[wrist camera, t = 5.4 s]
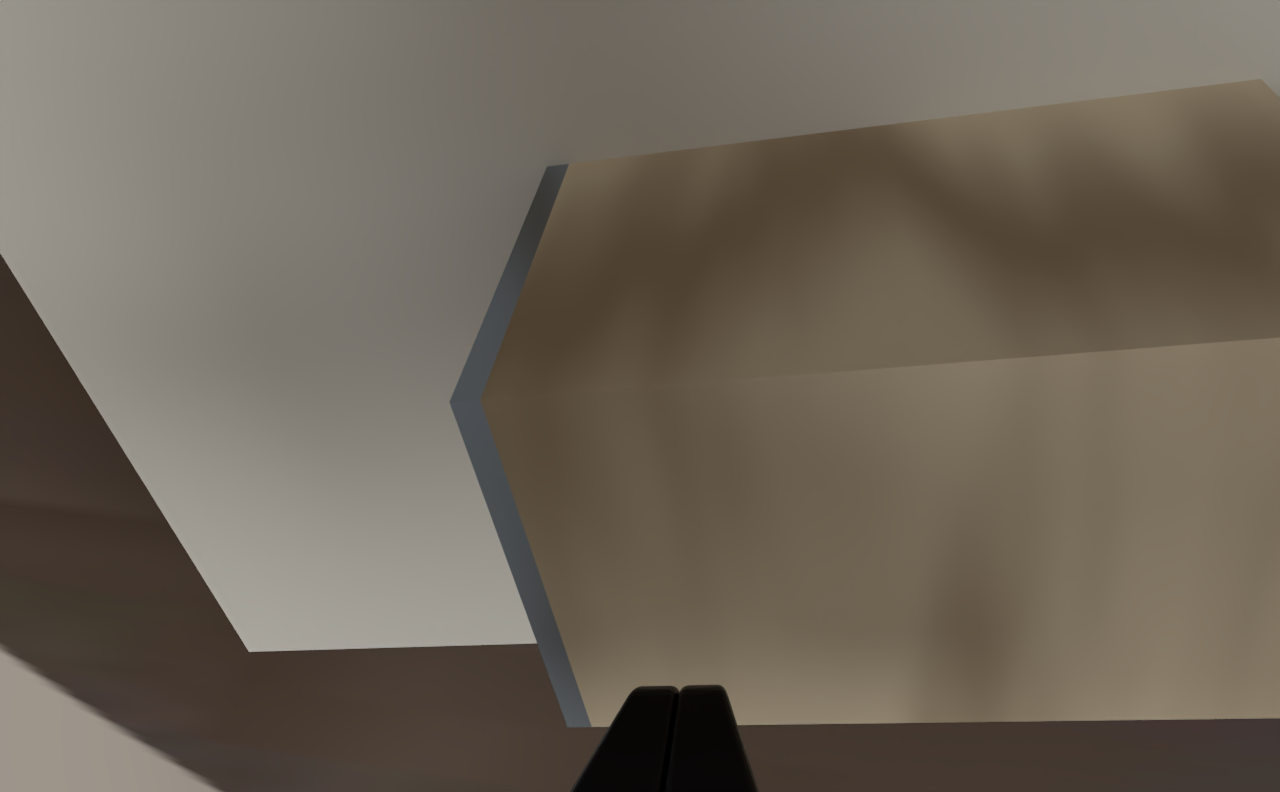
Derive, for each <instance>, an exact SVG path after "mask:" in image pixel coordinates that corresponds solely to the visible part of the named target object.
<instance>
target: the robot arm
mask: <svg viewBox="0 0 1280 792" xmlns="http://www.w3.org/2000/svg"><path fill="white" fill-rule="evenodd" d="M570 792H759V791H758V788H757V785H756V782H755V779H754V775H753V772H752V769H751V766H750V763H749V760H748V757H747V754H746V750H745V747H744V744H743V741H742V738H741V735H740V732H739V729H738V725H737V722H736V719H735V716H734V713H733V710H732V707H731V704H730V700H729V697H728V694H727V692H726V690H725V688H724V687H723V686H721V685H687V686H684V687H683V688H681V690H680V691H679V690H678V688H676V687H675V686H640V687H637V688H635V689H634V690H632V692H631V693H630V694H629V695H628V697H627V698H626V700H625V702H624V703H623V705H622V707H621V708H620V710H619V712H618V713H617V715H616V717H615V718H614V720H613V722H612V723H611V725H610V727H609V728H608V730H607V732H606V733H605V735H604V736H603V738H602V740H601V741H600V743H599V745H598V746H597V748H596V750H595V751H594V753H593V755H592V756H591V758H590V760H589V761H588V763H587V765H586V766H585V768H584V770H583V771H582V773H581V775H580V776H579V778H578V779H577V781H576V783H575V784H574V786H573V788H572V789H571V791H570Z"/></svg>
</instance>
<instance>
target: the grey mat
mask: <svg viewBox="0 0 1280 792" xmlns="http://www.w3.org/2000/svg"><path fill="white" fill-rule="evenodd" d="M1257 79H1261V80H1262V81H1263V82H1264V83H1265V84H1266V85H1267V86H1268V87H1269V88H1270V89H1271V90H1272V91H1273V92H1274V93H1275V94H1276V95H1277V96H1278V97H1279V98H1280V0H0V253H1V255H2V257H3V258H4V260H5V261H6V263H7V265H8V266H9V268H10V269H11V271H12V273H13V274H14V276H15V277H16V279H17V281H18V282H19V284H20V285H21V287H22V289H23V290H24V292H25V293H26V295H27V297H28V298H29V300H30V301H31V303H32V305H33V306H34V308H35V309H36V311H37V313H38V314H39V316H40V317H41V319H42V321H43V322H44V324H45V326H46V327H47V329H48V330H49V332H50V334H51V335H52V337H53V338H54V340H55V342H56V343H57V345H58V346H59V348H60V350H61V351H62V353H63V354H64V356H65V358H66V359H67V361H68V362H69V364H70V366H71V367H72V369H73V370H74V372H75V374H76V375H77V377H78V378H79V380H80V382H81V383H82V385H83V386H84V388H85V390H86V391H87V393H88V394H89V396H90V398H91V399H92V401H93V402H94V404H95V406H96V407H97V409H98V410H99V412H100V414H101V415H102V417H103V418H104V420H105V422H106V423H107V425H108V427H109V428H110V430H111V431H112V433H113V435H114V436H115V438H116V439H117V441H118V443H119V444H120V446H121V447H122V449H123V451H124V452H125V454H126V455H127V457H128V459H129V460H130V462H131V463H132V465H133V467H134V468H135V470H136V471H137V473H138V475H139V476H140V478H141V479H142V481H143V483H144V484H145V486H146V487H147V489H148V491H149V492H150V494H151V495H152V497H153V499H154V500H155V502H156V503H157V505H158V507H159V508H160V510H161V511H162V513H163V515H164V516H165V518H166V519H167V521H168V523H169V524H170V526H171V528H172V529H173V531H174V532H175V534H176V536H177V537H178V539H179V540H180V542H181V544H182V545H183V547H184V548H185V550H186V552H187V553H188V555H189V556H190V558H191V560H192V561H193V563H194V564H195V566H196V568H197V569H198V571H199V572H200V574H201V576H202V577H203V579H204V580H205V582H206V584H207V585H208V587H209V588H210V590H211V592H212V593H213V595H214V596H215V598H216V600H217V601H218V603H219V604H220V606H221V608H222V609H223V611H224V612H225V614H226V616H227V617H228V619H229V620H230V622H231V624H232V625H233V627H234V629H235V630H236V632H237V633H238V635H239V637H240V638H241V640H242V641H243V643H244V645H245V646H246V648H247V649H248V651H249V652H257V651H292V650H326V649H360V648H394V647H429V646H463V645H497V644H531V643H537V642H536V639H535V636H534V633H533V631H532V628H531V625H530V622H529V620H528V617H527V614H526V611H525V609H524V606H523V603H522V600H521V598H520V595H519V592H518V589H517V587H516V584H515V581H514V578H513V576H512V573H511V570H510V567H509V565H508V562H507V559H506V556H505V554H504V551H503V548H502V545H501V543H500V540H499V537H498V534H497V532H496V529H495V526H494V523H493V521H492V518H491V515H490V512H489V510H488V507H487V504H486V501H485V499H484V496H483V493H482V491H481V488H480V485H479V482H478V480H477V477H476V474H475V471H474V469H473V466H472V463H471V460H470V458H469V455H468V452H467V449H466V447H465V444H464V441H463V438H462V436H461V433H460V430H459V427H458V425H457V422H456V419H455V416H454V414H453V411H452V408H451V405H450V403H449V402H450V400H451V397H452V395H453V392H454V390H455V388H456V385H457V383H458V380H459V378H460V375H461V373H462V371H463V368H464V366H465V363H466V361H467V359H468V356H469V354H470V351H471V349H472V346H473V344H474V342H475V339H476V337H477V334H478V332H479V330H480V327H481V325H482V322H483V320H484V317H485V315H486V313H487V310H488V308H489V305H490V303H491V301H492V298H493V296H494V293H495V291H496V288H497V286H498V284H499V281H500V279H501V276H502V274H503V272H504V269H505V267H506V264H507V262H508V259H509V257H510V255H511V252H512V250H513V247H514V245H515V243H516V240H517V238H518V235H519V233H520V230H521V228H522V226H523V223H524V221H525V218H526V216H527V214H528V211H529V209H530V206H531V204H532V201H533V199H534V197H535V194H536V192H537V189H538V187H539V185H540V182H541V180H542V177H543V175H544V172H545V170H546V168H547V166H555V165H564V164H572V163H580V162H588V161H596V160H604V159H612V158H621V157H629V156H637V155H645V154H653V153H661V152H670V151H678V150H686V149H694V148H702V147H710V146H718V145H727V144H735V143H743V142H751V141H759V140H767V139H776V138H784V137H792V136H800V135H808V134H816V133H824V132H833V131H841V130H849V129H857V128H865V127H873V126H882V125H890V124H898V123H906V122H914V121H922V120H930V119H939V118H947V117H955V116H963V115H971V114H979V113H988V112H996V111H1004V110H1012V109H1020V108H1028V107H1036V106H1045V105H1053V104H1061V103H1069V102H1077V101H1085V100H1094V99H1102V98H1110V97H1118V96H1126V95H1134V94H1142V93H1151V92H1159V91H1167V90H1175V89H1183V88H1191V87H1200V86H1208V85H1216V84H1224V83H1232V82H1240V81H1248V80H1257Z"/></svg>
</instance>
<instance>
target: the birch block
mask: <svg viewBox="0 0 1280 792" xmlns="http://www.w3.org/2000/svg"><path fill="white" fill-rule="evenodd" d="M449 403H450V405H451V408H452V411H453V414H454V416H455V419H456V422H457V425H458V427H459V430H460V433H461V436H462V438H463V441H464V444H465V447H466V449H467V452H468V455H469V458H470V460H471V463H472V466H473V469H474V471H475V474H476V477H477V480H478V482H479V485H480V488H481V491H482V493H483V496H484V499H485V501H486V504H487V507H488V510H489V512H490V515H491V518H492V521H493V523H494V526H495V529H496V532H497V534H498V537H499V540H500V543H501V545H502V548H503V551H504V554H505V556H506V559H507V562H508V565H509V567H510V570H511V573H512V576H513V578H514V581H515V584H516V587H517V589H518V592H519V595H520V598H521V600H522V603H523V606H524V609H525V611H526V614H527V617H528V620H529V622H530V625H531V628H532V631H533V633H534V636H535V639H536V642H537V644H538V647H539V650H540V653H541V655H542V658H543V661H544V664H545V666H546V669H547V672H548V675H549V677H550V680H551V683H552V686H553V688H554V691H555V694H556V697H557V699H558V702H559V705H560V708H561V710H562V713H563V716H564V719H565V721H566V724H567V727H610V725H611V723H612V722H613V720H614V718H615V717H616V715H617V713H618V712H619V710H620V708H621V707H622V705H623V703H624V702H625V700H626V698H627V697H628V695H629V694H630V693H631V692H632V690H634V689H635V688H637V687H640V686H675V687H676V688H678V690H679V691H680V690H681V688H683V687H684V686H687V685H721V686H723V687H724V688H725V690H726V692H727V694H728V697H729V700H730V704H731V707H732V710H733V713H734V716H735V719H736V722H737V725H780V724H859V723H938V722H1017V721H1096V720H1175V719H1254V718H1280V98H1279V97H1278V96H1277V95H1276V94H1275V93H1274V92H1273V91H1272V90H1271V89H1270V88H1269V87H1268V86H1267V85H1266V84H1265V83H1264V82H1263V81H1262V80H1261V79H1257V80H1248V81H1240V82H1232V83H1224V84H1216V85H1208V86H1200V87H1191V88H1183V89H1175V90H1167V91H1159V92H1151V93H1142V94H1134V95H1126V96H1118V97H1110V98H1102V99H1094V100H1085V101H1077V102H1069V103H1061V104H1053V105H1045V106H1036V107H1028V108H1020V109H1012V110H1004V111H996V112H988V113H979V114H971V115H963V116H955V117H947V118H939V119H930V120H922V121H914V122H906V123H898V124H890V125H882V126H873V127H865V128H857V129H849V130H841V131H833V132H824V133H816V134H808V135H800V136H792V137H784V138H776V139H767V140H759V141H751V142H743V143H735V144H727V145H718V146H710V147H702V148H694V149H686V150H678V151H670V152H661V153H653V154H645V155H637V156H629V157H621V158H612V159H604V160H596V161H588V162H580V163H572V164H564V165H555V166H547V168H546V170H545V172H544V175H543V177H542V180H541V182H540V185H539V187H538V189H537V192H536V194H535V197H534V199H533V201H532V204H531V206H530V209H529V211H528V214H527V216H526V218H525V221H524V223H523V226H522V228H521V230H520V233H519V235H518V238H517V240H516V243H515V245H514V247H513V250H512V252H511V255H510V257H509V259H508V262H507V264H506V267H505V269H504V272H503V274H502V276H501V279H500V281H499V284H498V286H497V288H496V291H495V293H494V296H493V298H492V301H491V303H490V305H489V308H488V310H487V313H486V315H485V317H484V320H483V322H482V325H481V327H480V330H479V332H478V334H477V337H476V339H475V342H474V344H473V346H472V349H471V351H470V354H469V356H468V359H467V361H466V363H465V366H464V368H463V371H462V373H461V375H460V378H459V380H458V383H457V385H456V388H455V390H454V392H453V395H452V397H451V400H450V402H449Z"/></svg>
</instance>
